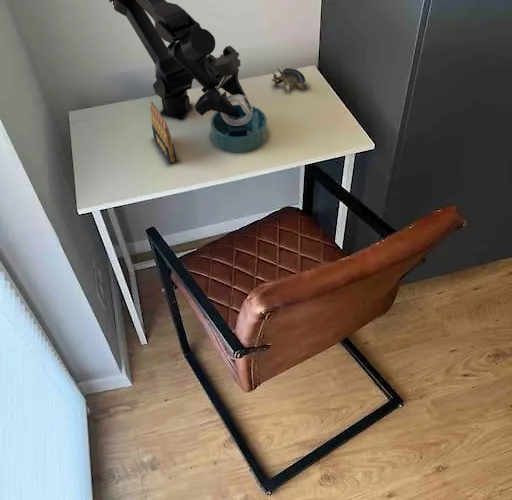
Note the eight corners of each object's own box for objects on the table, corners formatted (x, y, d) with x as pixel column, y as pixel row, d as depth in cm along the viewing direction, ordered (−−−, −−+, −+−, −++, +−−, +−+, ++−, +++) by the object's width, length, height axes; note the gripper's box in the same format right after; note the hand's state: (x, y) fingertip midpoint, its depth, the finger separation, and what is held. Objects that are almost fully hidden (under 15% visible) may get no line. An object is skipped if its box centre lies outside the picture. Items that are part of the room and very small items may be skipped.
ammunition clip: (154, 140, 147) (146, 100, 137) (161, 138, 147) (153, 97, 138) (169, 164, 140) (162, 124, 131) (176, 162, 141) (169, 121, 132)
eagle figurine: (273, 94, 156) (306, 89, 154) (269, 67, 154) (303, 61, 153) (277, 94, 163) (308, 88, 162) (273, 67, 162) (305, 62, 160)
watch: (254, 138, 145) (254, 103, 136) (223, 141, 144) (220, 106, 136) (251, 123, 148) (251, 88, 140) (220, 126, 148) (218, 91, 139)
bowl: (203, 145, 145) (201, 131, 141) (225, 114, 153) (224, 99, 149) (254, 157, 141) (253, 143, 138) (274, 125, 149) (274, 110, 146)
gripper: (202, 65, 123) (253, 116, 129) (230, 22, 135) (275, 71, 141) (173, 92, 131) (223, 138, 137) (201, 49, 142) (246, 94, 149)
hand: (243, 109), depth 141 cm, fingers closed on watch, 6 cm apart
